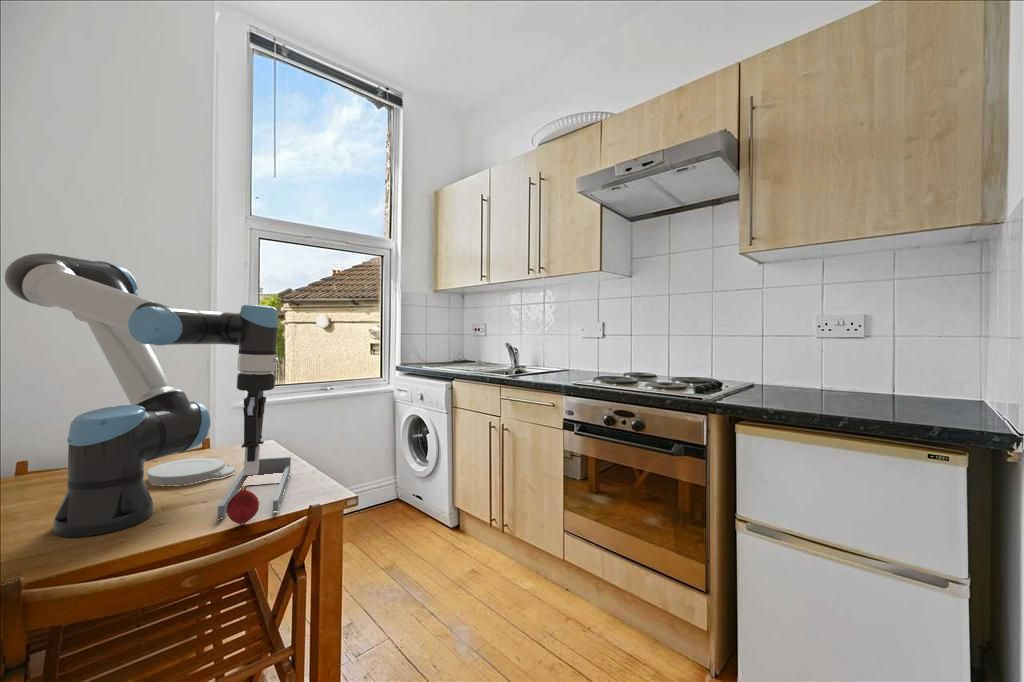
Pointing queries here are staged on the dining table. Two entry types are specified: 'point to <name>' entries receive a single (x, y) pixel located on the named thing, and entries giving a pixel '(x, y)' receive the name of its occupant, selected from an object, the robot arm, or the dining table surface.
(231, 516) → the onion
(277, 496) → the channel
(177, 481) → the lid
